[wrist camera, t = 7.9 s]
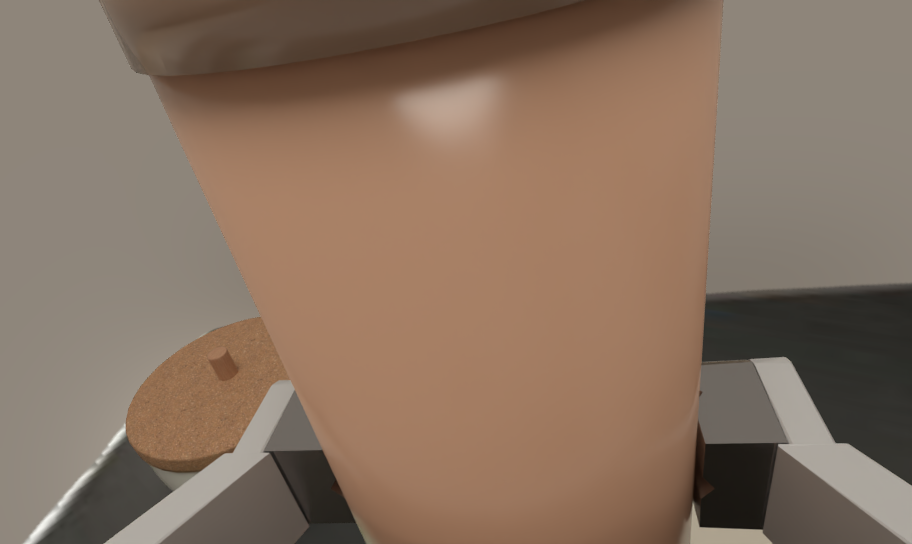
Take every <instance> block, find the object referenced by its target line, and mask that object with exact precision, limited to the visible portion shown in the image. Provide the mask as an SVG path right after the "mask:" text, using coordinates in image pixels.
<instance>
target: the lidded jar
mask: <svg viewBox="0 0 912 544" xmlns="http://www.w3.org/2000/svg"><path fill="white" fill-rule="evenodd" d="M279 380H290V378H289V376H288V374H287V372H286V370H285V367H284V365H283V363H282V361H281V359H280V357H279V355H278V352H277V350H276V348H275V346H274V344H273V342H272V339H271V337H270V335H269V333H268V331H267V329H266V326H265V324H264V322H263V320H262V318H261V317H257V318H252V319H248V320H243V321H240V322H236V323H233V324H230V325H227V326H224V327H222V328H219V329H217V330H215V331H212V332H210V333H208V334H206V335H204V336H202V337H200V338H198V339H196V340H195V341H193V342H191V343H190V344H188V345H187V346H185V347H183V348H182V349H180V350H179V351H177V352H176V353H175V354H173V355H172V356H171V357H169V358H168V359H167V360H166V361H165V362H163V363H162V364H161V365H160V366H159V367H158V368H157V369H156V370H155V371H154V372H153V373H152V374H151V375H150V376H149V377H148V378H147V379H146V381H145V382H144V383H143V384H142V385H141V387H140V388H139V390H138V391H137V393H136V395H135V396H134V398H133V400H132V402H131V404H130V407H129V409H128V414H127V418H126V434H127V437H128V440H129V442H130V444H131V445H132V447H133V448H134V449H135V451H136V452H137V453H138V455H139V456H140V457H141V458H142V459H143V460H144V461H145V462H147V463H148V464H149V465H150V466H151V468H152V469H153V470H154V472H155V473H156V474H157V475H158V477H159V478H160V479H161V480H162V481H163V483H164V484H165V485H166V486H168V487H169V488H170V489H171V490H172V491H173V492H174V491H175V490H176V489H178V488H179V487H180V486H182V485H183V484H184V483H186V482H187V481H188V480H190V479H191V478H192V477H194V476H195V475H196V474H198V473H199V472H200V471H202V470H203V469H204V468H206V467H207V466H208V465H210V464H211V463H212V462H214V461H215V460H216V459H218V458H219V457H220V456H222V455H223V454H224V453H233V452H234V450H235V448H236V446H237V445H238V443H239V441H240V439H241V438H242V436H243V434H244V432H245V431H246V429H247V427H248V425H249V424H250V422H251V420H252V418H253V417H254V415H255V413H256V411H257V410H258V408H259V406H260V404H261V403H262V401H263V399H264V397H265V396H266V394H267V392H268V390H269V389H270V387H271V386H272V385H273V384H274V383H276V382H277V381H279Z"/></svg>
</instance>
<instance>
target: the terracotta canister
mask: <svg viewBox="0 0 912 544" xmlns="http://www.w3.org/2000/svg"><path fill="white" fill-rule="evenodd" d="M99 2H100V4H101V6H102V8H103V10H104V12H105V14H106V16H107V19H108V21H109V23H110V25H111V27H112V29H113V31H114V33H115V35H116V37H117V40H118V41H119V44H120V46H121V48H122V50H123V52H124V54H125V56H126V58H127V60H128V63H129V65H130V67H131V69H132V70H134V71H135V72H136V73H140V74H146V75H149V76H150V78H151V80H152V83H153V84H154V87H155V89H156V91H157V93H158V95H159V98H160V100H161V102H162V104H163V106H164V109H165V111H166V113H167V115H168V117H169V119H170V121H171V124H172V126H173V128H174V130H175V132H176V134H177V137H178V139H179V141H180V143H181V145H182V147H183V150H184V151H185V154H186V156H187V158H188V160H189V162H190V164H191V167H192V169H193V171H194V173H195V175H196V177H197V180H198V182H199V184H200V186H201V188H202V191H203V192H204V194H205V197H206V199H207V201H208V203H209V206H210V208H211V210H212V212H213V214H214V216H215V218H216V221H217V223H218V225H219V227H220V229H221V232H222V234H223V236H224V238H225V240H226V242H227V244H228V246H229V249H230V250H231V253H232V255H233V257H234V259H235V262H236V264H237V266H238V268H239V270H240V272H241V275H242V277H243V279H244V281H245V283H246V285H247V288H248V289H249V292H250V294H251V296H252V298H253V300H254V303H255V305H256V307H257V309H258V311H259V314H260V316H261V318H262V320H263V322H264V324H265V326H266V329H267V331H268V333H269V335H270V337H271V339H272V342H273V344H274V346H275V348H276V350H277V352H278V355H279V357H280V359H281V361H282V363H283V365H284V367H285V370H286V372H287V374H288V376H289V378H290V380H291V383H292V385H293V387H294V389H295V391H296V393H297V396H298V398H299V400H300V402H301V404H302V406H303V409H304V411H305V413H306V415H307V417H308V419H309V421H310V424H311V426H312V428H313V430H314V432H315V434H316V437H317V439H318V441H319V443H320V445H321V447H322V450H323V452H324V454H325V456H326V458H327V460H328V462H329V465H330V467H331V469H332V471H333V473H334V475H335V478H336V480H337V482H338V484H339V486H340V488H341V491H342V493H343V495H344V497H345V499H346V501H347V503H348V506H349V508H350V510H351V512H352V514H353V516H354V519H355V521H356V523H357V525H358V527H359V529H360V532H361V534H362V536H363V538H364V540H365V542H366V544H690V540H691V524H692V507H693V491H694V475H695V458H696V442H697V426H698V409H699V393H700V377H701V360H702V344H703V328H704V311H705V295H706V279H707V261H708V245H709V229H710V213H711V197H712V179H713V164H714V163H713V162H714V148H715V147H714V146H715V131H716V115H717V99H718V82H719V66H720V49H721V33H722V17H723V0H99Z"/></svg>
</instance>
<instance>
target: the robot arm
mask: <svg viewBox="0 0 912 544" xmlns="http://www.w3.org/2000/svg"><path fill="white" fill-rule="evenodd" d="M693 504H694V508H695V512H696V516H697V520H698V524H699V527H703V528H729V529H754V530H763V534H764V535H765V536H766V537H767V538H768V539H769V540H770V541H771V542H772V543H773V544H912V486H911V485H910V484H908V483H907V482H905V481H904V480H902V479H901V478H899V477H898V476H896V475H895V474H893V473H892V472H890V471H888V470H887V469H885V468H884V467H882V466H881V465H879V464H878V463H876V462H875V461H873V460H872V459H870V458H869V457H867V456H866V455H864V454H863V453H861V452H860V451H858V450H857V449H855V448H854V447H852V446H851V445H849V444H836V443H835V441H834V440H833V438H832V436H831V434H830V432H829V430H828V429H827V427H826V425H825V423H824V421H823V419H822V418H821V416H820V414H819V412H818V410H817V408H816V406H815V405H814V403H813V401H812V399H811V397H810V395H809V394H808V392H807V390H806V388H805V386H804V384H803V383H802V381H801V379H800V377H799V375H798V373H797V372H796V370H795V368H794V366H793V364H792V362H791V361H790V360H788V359H787V358H786V357H779V358H762V359H749V360H733V361H714V362H701V377H700V393H699V409H698V426H697V442H696V458H695V475H694V491H693ZM317 523H356V521H355V519H354V516H353V514H352V512H351V510H350V508H349V506H348V503H347V501H346V499H345V497H344V495H343V493H342V491H341V488H340V486H339V484H338V482H337V480H336V478H335V475H334V473H333V471H332V469H331V467H330V465H329V462H328V460H327V458H326V456H325V454H324V452H323V450H322V447H321V445H320V443H319V441H318V439H317V437H316V434H315V432H314V430H313V428H312V426H311V424H310V421H309V419H308V417H307V415H306V413H305V411H304V409H303V406H302V404H301V402H300V400H299V398H298V396H297V393H296V391H295V389H294V387H293V385H292V383H291V380H279V381H277V382H276V383H274V384H273V385H272V386H271V387H270V389H269V390H268V392H267V394H266V396H265V397H264V399H263V401H262V403H261V404H260V406H259V408H258V410H257V411H256V413H255V415H254V417H253V418H252V420H251V422H250V424H249V425H248V427H247V429H246V431H245V432H244V434H243V436H242V438H241V439H240V441H239V443H238V445H237V446H236V448H235V450H234V452H233V453H224V454H223V455H222V456H220V457H219V458H218V459H216V460H215V461H214V462H212V463H211V464H210V465H208V466H207V467H206V468H204V469H203V470H202V471H200V472H199V473H198V474H196V475H195V476H194V477H192V478H191V479H190V480H188V481H187V482H186V483H184V484H183V485H182V486H180V487H179V488H178V489H176V490H175V491H174V492H172V493H171V494H170V495H168V496H167V497H166V498H164V499H163V500H162V501H160V502H159V503H158V504H156V505H155V506H154V507H152V508H151V509H150V510H148V511H147V512H146V513H144V514H143V515H142V516H140V517H139V518H138V519H136V520H135V521H134V522H132V523H131V524H130V525H128V526H127V527H126V528H124V529H123V530H122V531H120V532H119V533H118V534H116V535H115V536H114V537H112V538H111V539H110V540H108V541H107V542H106V543H104V544H294V543H295V542H296V541H297V540H298V539H299V538H300V537H301V535H302V534H303V533H304V532H305V531H306V530H307V529H308V528H309V524H317Z"/></svg>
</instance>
